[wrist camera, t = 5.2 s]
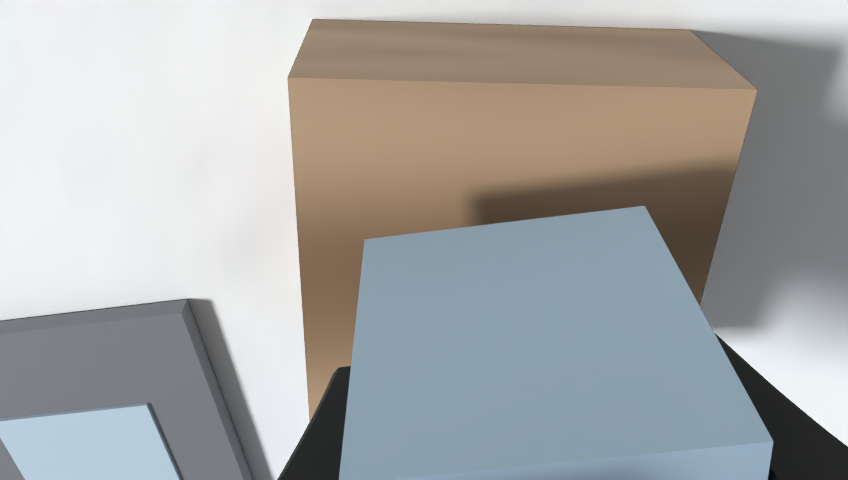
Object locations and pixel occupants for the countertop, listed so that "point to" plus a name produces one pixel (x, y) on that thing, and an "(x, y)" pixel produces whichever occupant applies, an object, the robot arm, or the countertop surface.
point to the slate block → (541, 360)
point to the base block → (498, 143)
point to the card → (113, 398)
